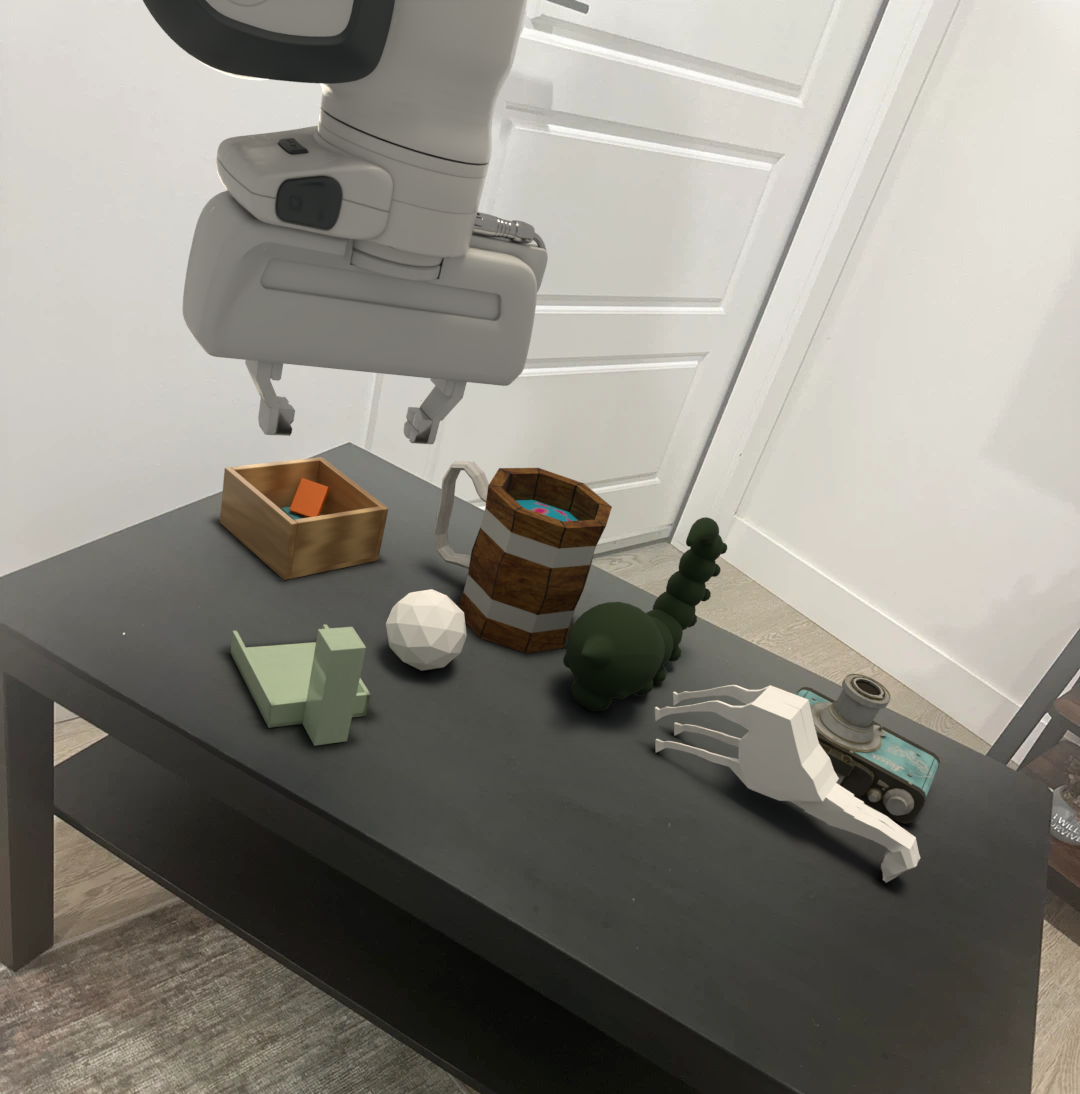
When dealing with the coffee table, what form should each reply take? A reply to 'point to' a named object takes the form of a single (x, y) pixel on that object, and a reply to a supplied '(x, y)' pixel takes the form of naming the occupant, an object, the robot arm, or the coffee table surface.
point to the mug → (524, 553)
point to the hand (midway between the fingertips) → (349, 435)
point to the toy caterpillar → (641, 629)
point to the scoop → (307, 682)
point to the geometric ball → (426, 629)
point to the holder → (308, 543)
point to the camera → (871, 749)
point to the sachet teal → (292, 515)
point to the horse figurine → (791, 764)
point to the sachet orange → (309, 498)
